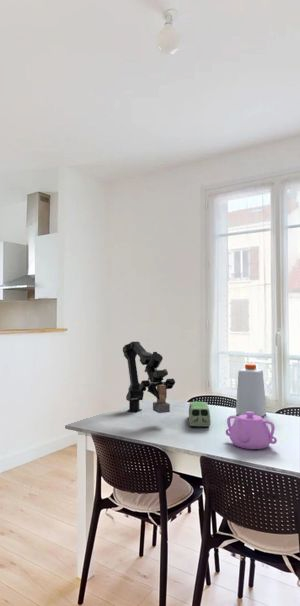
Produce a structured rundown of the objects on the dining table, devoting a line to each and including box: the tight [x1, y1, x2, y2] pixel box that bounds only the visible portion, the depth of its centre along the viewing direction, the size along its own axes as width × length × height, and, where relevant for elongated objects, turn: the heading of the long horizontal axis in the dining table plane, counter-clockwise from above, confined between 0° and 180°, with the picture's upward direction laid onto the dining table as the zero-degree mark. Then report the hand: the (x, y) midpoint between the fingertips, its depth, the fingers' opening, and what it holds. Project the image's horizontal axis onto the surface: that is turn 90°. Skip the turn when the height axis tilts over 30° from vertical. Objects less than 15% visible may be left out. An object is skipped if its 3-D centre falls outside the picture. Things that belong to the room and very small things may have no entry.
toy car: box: [188, 401, 212, 428], centre depth 195 cm, size 11×25×10 cm, turn 175°
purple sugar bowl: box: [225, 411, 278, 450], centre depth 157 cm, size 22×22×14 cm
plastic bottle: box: [235, 363, 267, 418], centre depth 213 cm, size 15×15×28 cm
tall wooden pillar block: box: [152, 385, 171, 414], centre depth 190 cm, size 7×6×13 cm
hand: (162, 398), depth 189 cm, fingers closed on tall wooden pillar block, 3 cm apart
